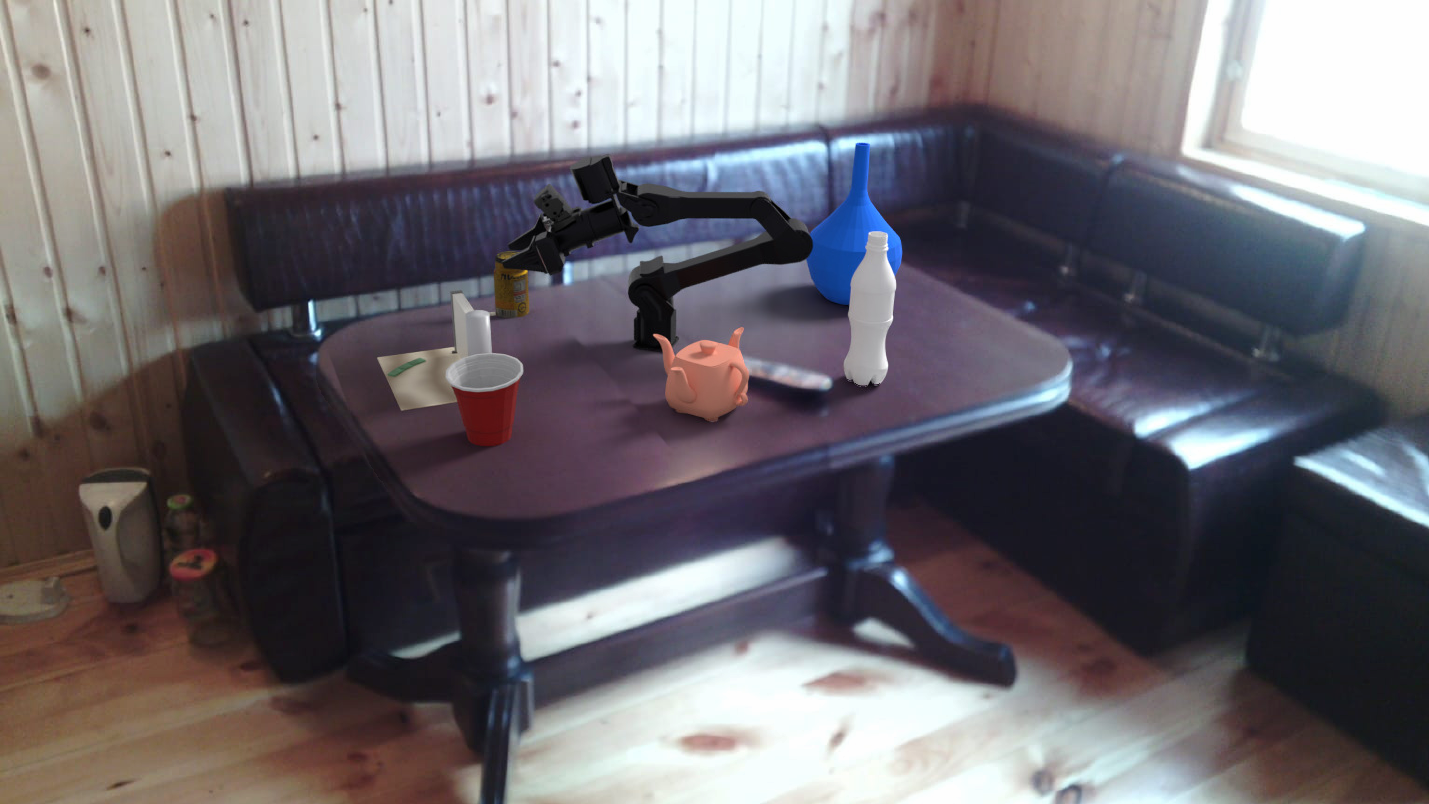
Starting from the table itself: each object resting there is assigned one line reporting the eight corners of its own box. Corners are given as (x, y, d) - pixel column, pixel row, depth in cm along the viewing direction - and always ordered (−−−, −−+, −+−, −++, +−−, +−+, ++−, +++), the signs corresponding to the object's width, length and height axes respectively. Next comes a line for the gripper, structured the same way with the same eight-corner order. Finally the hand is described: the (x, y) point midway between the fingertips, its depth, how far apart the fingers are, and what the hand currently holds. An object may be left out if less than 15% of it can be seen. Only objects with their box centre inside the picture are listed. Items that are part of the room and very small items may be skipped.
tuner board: (474, 350, 197) (473, 342, 196) (506, 401, 180) (506, 392, 179) (377, 364, 191) (376, 355, 190) (401, 417, 174) (401, 408, 173)
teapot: (670, 433, 172) (671, 365, 167) (652, 392, 184) (652, 328, 180) (764, 425, 175) (767, 358, 170) (740, 385, 188) (743, 322, 183)
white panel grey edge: (496, 389, 180) (492, 317, 175) (473, 392, 178) (468, 320, 173) (470, 349, 193) (466, 281, 188) (449, 352, 192) (444, 283, 187)
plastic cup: (435, 451, 165) (428, 374, 159) (478, 421, 174) (474, 347, 168) (500, 468, 161) (495, 390, 156) (541, 436, 170) (538, 361, 165)
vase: (806, 277, 235) (815, 130, 222) (897, 284, 233) (912, 136, 220) (799, 310, 219) (809, 152, 206) (897, 317, 217) (913, 159, 204)
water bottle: (890, 375, 193) (905, 230, 182) (881, 392, 187) (896, 243, 176) (848, 368, 195) (860, 224, 184) (837, 385, 189) (850, 237, 178)
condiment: (527, 309, 215) (525, 247, 210) (537, 326, 208) (535, 262, 203) (488, 313, 213) (484, 251, 208) (497, 330, 206) (493, 266, 200)
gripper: (577, 165, 197) (492, 196, 199) (571, 195, 180) (478, 229, 182) (601, 224, 202) (518, 254, 203) (598, 259, 185) (507, 292, 187)
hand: (505, 256), depth 194 cm, fingers open, 9 cm apart
